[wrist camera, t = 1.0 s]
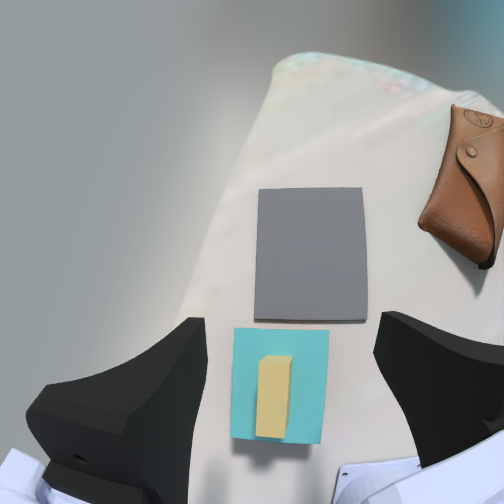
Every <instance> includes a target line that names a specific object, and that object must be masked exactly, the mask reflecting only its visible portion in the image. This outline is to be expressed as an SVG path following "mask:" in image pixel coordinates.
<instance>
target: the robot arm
mask: <svg viewBox="0 0 504 504" xmlns="http://www.w3.org/2000/svg"><path fill="white" fill-rule="evenodd" d="M373 354H374V357H375V359H376V362H377V365H378V367H379V369H380V372H381V373H382V375H383V377H384V379H385V381H386V382H387V384H388V386H389V387H390V389H391V391H392V393H393V394H394V396H395V398H396V399H397V401H398V403H399V405H400V406H401V408H402V410H403V412H404V414H405V417H406V419H407V422H408V425H409V427H410V430H411V433H412V436H413V439H414V442H415V445H416V448H417V452H418V457H412V458H406V459H399V460H392V461H384V462H374V463H362V464H346V465H343V466H341V467H340V470H339V476H338V481H337V485H336V490H335V495H334V499H333V504H504V346H500V345H493V344H487V343H482V342H477V341H473V340H470V339H466V338H463V337H459V336H456V335H453V334H451V333H448V332H446V331H443V330H440V329H438V328H436V327H433V326H431V325H429V324H426V323H424V322H422V321H420V320H417V319H415V318H413V317H410V316H408V315H405V314H403V313H400V312H396V311H388V312H382V315H381V320H380V325H379V329H378V334H377V338H376V343H375V347H374V351H373ZM207 364H208V356H207V345H206V333H205V321H204V318H196V317H189V318H187V319H186V320H185V321H184V322H182V323H181V324H180V325H179V326H178V327H177V328H175V329H174V330H173V331H172V332H171V333H169V334H168V335H167V336H166V337H165V338H163V339H162V340H160V341H159V342H158V343H156V344H155V345H153V346H152V347H151V348H149V349H148V350H147V351H145V352H143V353H142V354H140V355H138V356H137V357H135V358H133V359H131V360H129V361H128V362H125V363H123V364H121V365H119V366H116V367H114V368H112V369H109V370H107V371H104V372H102V373H99V374H96V375H93V376H89V377H86V378H82V379H78V380H74V381H69V382H62V383H56V384H50V385H46V387H45V388H44V389H43V390H42V391H41V393H40V394H39V395H38V397H37V398H36V399H35V400H34V402H33V403H32V404H31V406H30V407H29V408H28V410H27V411H26V420H27V424H28V427H29V429H30V431H31V432H32V434H33V435H34V437H35V438H36V440H37V441H38V443H39V444H40V446H41V447H42V448H43V449H44V451H45V452H46V454H47V455H48V456H49V458H50V459H51V461H50V462H49V464H48V466H46V465H44V464H43V463H41V462H40V461H39V460H37V459H35V458H33V457H31V456H29V455H27V454H25V453H23V452H21V451H19V450H17V449H15V448H12V449H11V451H10V453H9V454H8V456H7V457H6V459H5V460H4V462H3V464H2V465H1V467H0V504H188V484H189V469H190V458H191V448H192V439H193V432H194V426H195V422H196V418H197V414H198V410H199V406H200V402H201V398H202V394H203V390H204V386H205V382H206V374H207ZM419 464H420V466H418V465H419ZM417 466H418V467H417ZM343 473H347V474H346V475H342V474H343Z"/></svg>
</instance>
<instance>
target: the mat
mask: <svg viewBox="0 0 504 504" xmlns="http://www.w3.org/2000/svg"><path fill="white" fill-rule="evenodd" d="M367 303H368V288H367V250H366V232H365V218H364V206H363V195H362V188H284V189H259V202H258V229H257V256H256V282H255V308H254V318H258V319H291V320H358V319H367Z"/></svg>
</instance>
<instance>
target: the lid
mask: <svg viewBox="0 0 504 504" xmlns="http://www.w3.org/2000/svg"><path fill="white" fill-rule="evenodd" d="M328 349H329V330H281V329H256V328H234V350H233V377H232V407H231V437H234V438H241V439H249V440H258V441H269V442H282V443H301V444H320V441H321V433H322V424H323V414H324V404H325V393H326V380H327V366H328Z"/></svg>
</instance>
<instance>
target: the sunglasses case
mask: <svg viewBox="0 0 504 504" xmlns="http://www.w3.org/2000/svg"><path fill="white" fill-rule="evenodd" d="M418 224H419V226H420V228H421V229H422V230H423V231H426V232H429V233H431V234H433V235H435V236H436V237H438V238H439V239H441V240H442V241H444V242H445V243H447V244H448V245H450V246H451V247H452V248H454V249H456V250H457V251H458V252H460V253H461V254H462V255H464V256H465V257H467V258H468V259H470V260H471V261H472V262H474V263H476V264H478V265H479V269H484V270H486V269H489V268H491V267H492V266H493V265H494V263H495V259H496V254H497V251H498V247H499V244H500V240H501V236H502V232H503V228H504V119H502V118H499V117H496V116H492V115H489V114H485V113H481V112H478V111H474V110H470V109H465V108H459V107H456V105H454V104H452V105H451V124H450V131H449V136H448V141H447V145H446V149H445V152H444V156H443V160H442V164H441V167H440V170H439V173H438V177H437V179H436V183H435V186H434V188H433V191H432V193H431V195H430V198H429V200H428V202H427V205H426V206H425V208H424V210H423V212H422V214H421V216H420V218H419V221H418Z"/></svg>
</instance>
